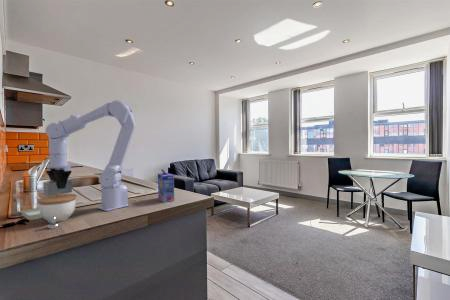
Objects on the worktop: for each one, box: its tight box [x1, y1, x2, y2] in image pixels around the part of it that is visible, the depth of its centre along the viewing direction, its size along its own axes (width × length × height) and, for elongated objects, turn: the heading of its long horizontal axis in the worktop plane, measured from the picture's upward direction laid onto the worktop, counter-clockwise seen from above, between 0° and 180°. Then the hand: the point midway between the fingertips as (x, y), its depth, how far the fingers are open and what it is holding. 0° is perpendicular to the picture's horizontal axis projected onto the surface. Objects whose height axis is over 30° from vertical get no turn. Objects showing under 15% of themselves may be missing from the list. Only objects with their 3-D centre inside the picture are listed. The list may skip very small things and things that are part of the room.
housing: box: [42, 179, 73, 197], centre depth 88 cm, size 4×8×6 cm, turn 150°
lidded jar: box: [37, 193, 77, 223], centre depth 77 cm, size 11×11×9 cm
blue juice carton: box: [157, 169, 175, 203], centre depth 105 cm, size 10×6×14 cm, turn 31°
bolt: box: [46, 216, 60, 230], centre depth 70 cm, size 3×3×3 cm
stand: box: [21, 207, 43, 221], centre depth 82 cm, size 7×10×2 cm
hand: (59, 187), depth 88 cm, fingers closed on housing, 4 cm apart
